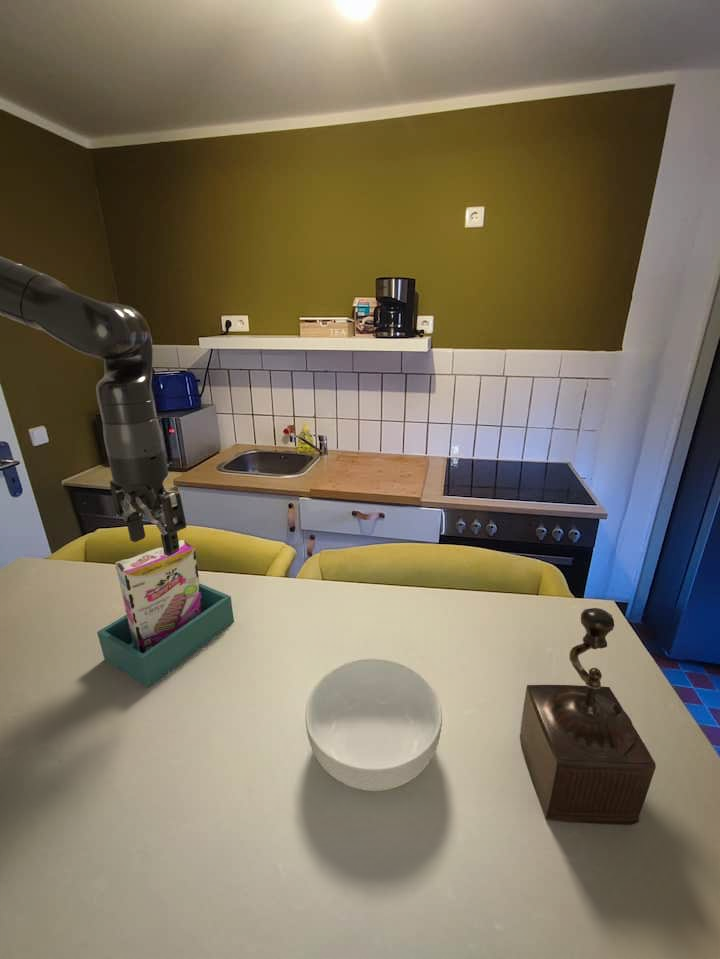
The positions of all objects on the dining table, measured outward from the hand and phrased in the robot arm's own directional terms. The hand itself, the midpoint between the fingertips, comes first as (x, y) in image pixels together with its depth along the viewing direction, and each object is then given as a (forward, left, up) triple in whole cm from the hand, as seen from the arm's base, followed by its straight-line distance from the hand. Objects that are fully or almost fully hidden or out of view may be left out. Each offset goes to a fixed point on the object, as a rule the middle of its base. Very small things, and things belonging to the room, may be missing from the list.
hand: (154, 546), depth 68 cm
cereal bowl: (+40, 0, -19) cm, 44 cm away
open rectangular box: (0, 0, -19) cm, 19 cm away
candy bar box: (0, 0, -18) cm, 18 cm away
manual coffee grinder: (+62, +11, -19) cm, 66 cm away
